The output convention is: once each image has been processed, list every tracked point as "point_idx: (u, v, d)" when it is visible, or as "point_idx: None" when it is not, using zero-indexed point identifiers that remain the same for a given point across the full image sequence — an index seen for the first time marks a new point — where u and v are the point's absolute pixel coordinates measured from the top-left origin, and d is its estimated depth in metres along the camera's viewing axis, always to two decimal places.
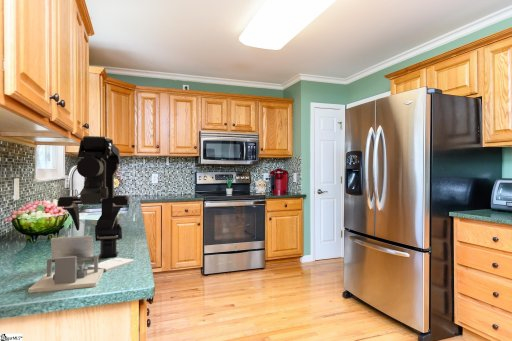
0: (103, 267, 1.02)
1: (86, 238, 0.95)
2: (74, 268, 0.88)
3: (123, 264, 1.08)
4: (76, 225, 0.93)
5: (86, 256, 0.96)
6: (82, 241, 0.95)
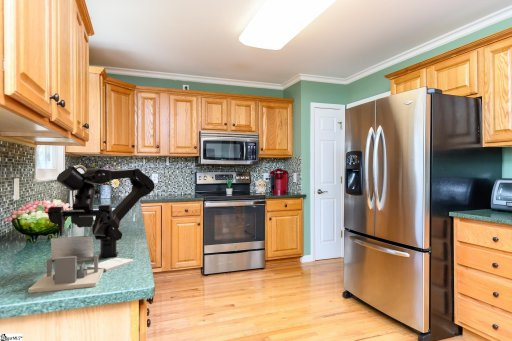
0: (103, 267, 1.02)
1: (86, 238, 0.95)
2: (74, 268, 0.88)
3: (123, 264, 1.08)
4: None
5: (86, 256, 0.96)
6: (82, 241, 0.95)
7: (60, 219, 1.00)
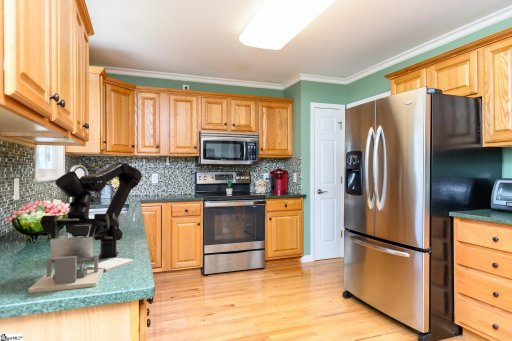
0: (103, 267, 1.02)
1: (86, 239, 0.95)
2: (74, 268, 0.88)
3: (123, 264, 1.08)
4: None
5: (86, 256, 0.96)
6: (82, 242, 0.95)
7: (53, 229, 0.95)
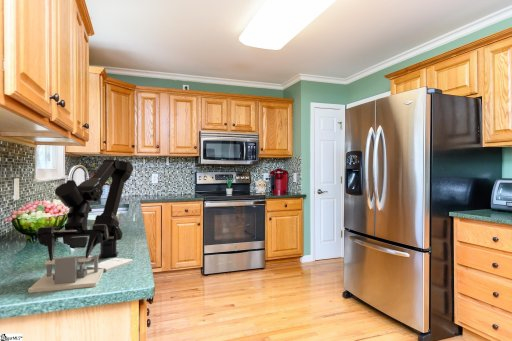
0: (103, 267, 1.02)
1: (82, 261, 0.91)
2: (74, 268, 0.88)
3: (122, 264, 1.08)
4: None
5: None
6: (79, 261, 0.91)
7: (50, 241, 0.91)
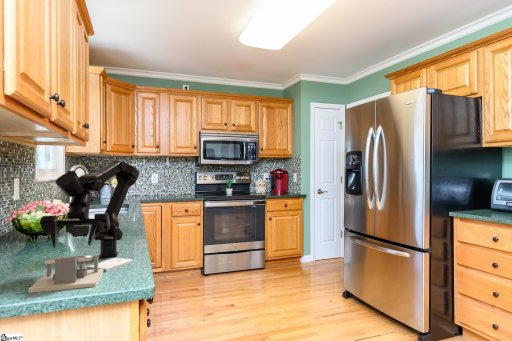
0: (103, 267, 1.02)
1: None
2: (74, 268, 0.88)
3: (122, 264, 1.08)
4: None
5: None
6: None
7: (53, 229, 0.94)
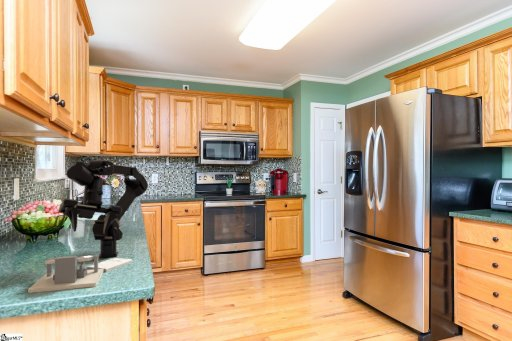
0: (103, 267, 1.02)
1: None
2: (74, 268, 0.88)
3: (122, 264, 1.08)
4: None
5: None
6: None
7: (76, 215, 1.02)
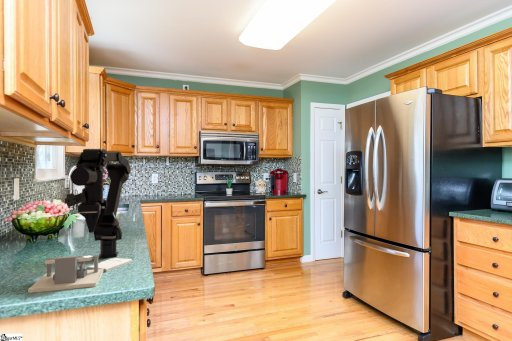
0: (103, 267, 1.02)
1: None
2: (74, 268, 0.88)
3: (122, 264, 1.08)
4: None
5: None
6: None
7: (98, 218, 1.04)
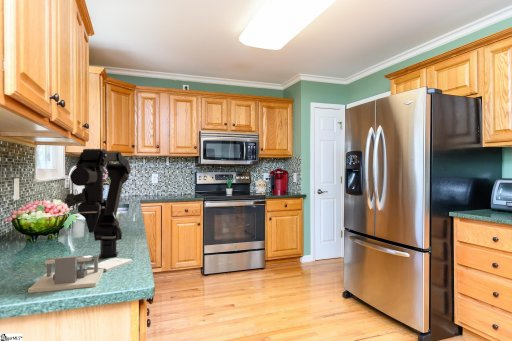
0: (103, 267, 1.02)
1: None
2: (74, 268, 0.88)
3: (122, 264, 1.08)
4: None
5: None
6: None
7: (98, 218, 1.04)
